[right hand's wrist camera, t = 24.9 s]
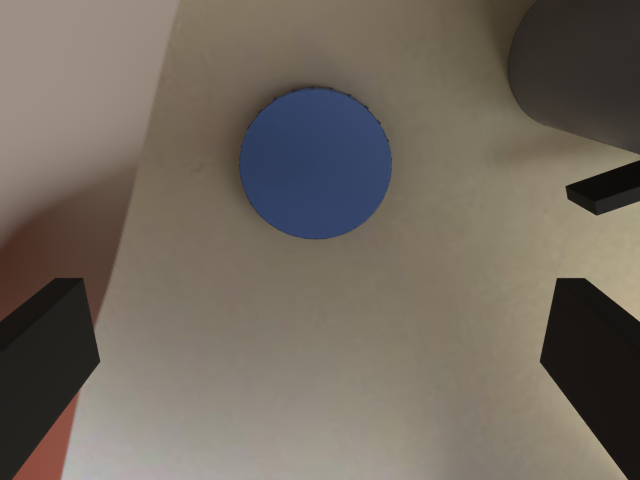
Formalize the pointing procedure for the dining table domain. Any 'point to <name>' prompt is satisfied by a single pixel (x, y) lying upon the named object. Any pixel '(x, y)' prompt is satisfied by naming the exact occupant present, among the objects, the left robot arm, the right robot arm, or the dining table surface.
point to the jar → (581, 68)
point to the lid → (315, 163)
